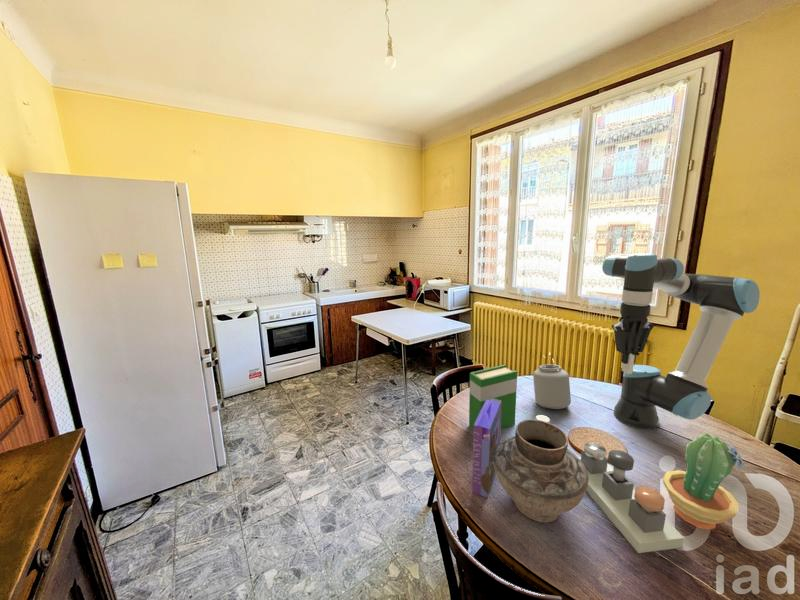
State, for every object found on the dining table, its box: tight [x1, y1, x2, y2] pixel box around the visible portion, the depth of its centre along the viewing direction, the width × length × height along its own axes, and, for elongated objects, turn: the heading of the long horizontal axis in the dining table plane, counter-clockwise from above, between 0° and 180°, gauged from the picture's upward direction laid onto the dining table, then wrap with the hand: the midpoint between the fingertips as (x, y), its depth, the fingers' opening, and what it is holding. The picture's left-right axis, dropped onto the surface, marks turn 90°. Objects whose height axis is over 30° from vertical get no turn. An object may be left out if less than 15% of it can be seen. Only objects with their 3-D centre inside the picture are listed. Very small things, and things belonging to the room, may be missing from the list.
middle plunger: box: [607, 449, 635, 481], centre depth 91 cm, size 6×6×7 cm
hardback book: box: [468, 364, 518, 430], centre depth 129 cm, size 18×7×24 cm, turn 112°
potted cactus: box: [662, 433, 746, 531], centre depth 85 cm, size 15×15×25 cm
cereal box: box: [471, 398, 502, 499], centre depth 102 cm, size 17×5×24 cm, turn 152°
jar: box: [532, 351, 572, 410], centre depth 143 cm, size 19×15×25 cm
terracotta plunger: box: [634, 485, 666, 514], centre depth 82 cm, size 6×6×7 cm
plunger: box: [583, 441, 607, 460], centre depth 102 cm, size 6×6×7 cm
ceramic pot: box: [493, 419, 589, 523], centre depth 91 cm, size 25×25×24 cm
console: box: [577, 448, 685, 554], centre depth 93 cm, size 12×30×8 cm, turn 5°
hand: (626, 372), depth 104 cm, fingers closed
